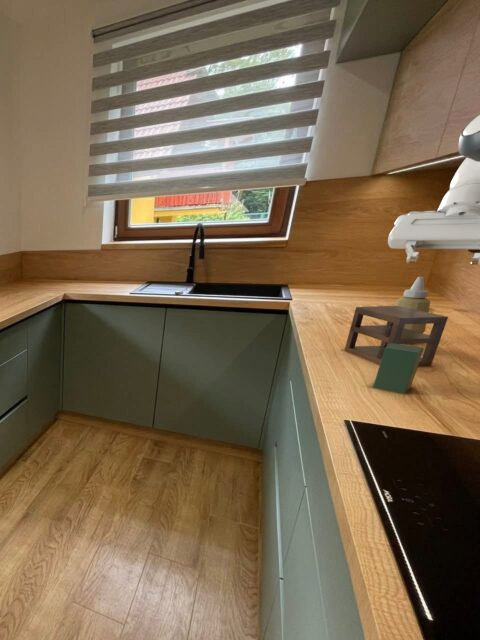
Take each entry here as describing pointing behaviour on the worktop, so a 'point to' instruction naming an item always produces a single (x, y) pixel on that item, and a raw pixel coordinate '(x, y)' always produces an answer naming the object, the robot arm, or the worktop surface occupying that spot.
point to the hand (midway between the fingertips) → (442, 262)
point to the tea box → (398, 367)
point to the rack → (395, 331)
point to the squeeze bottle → (415, 302)
